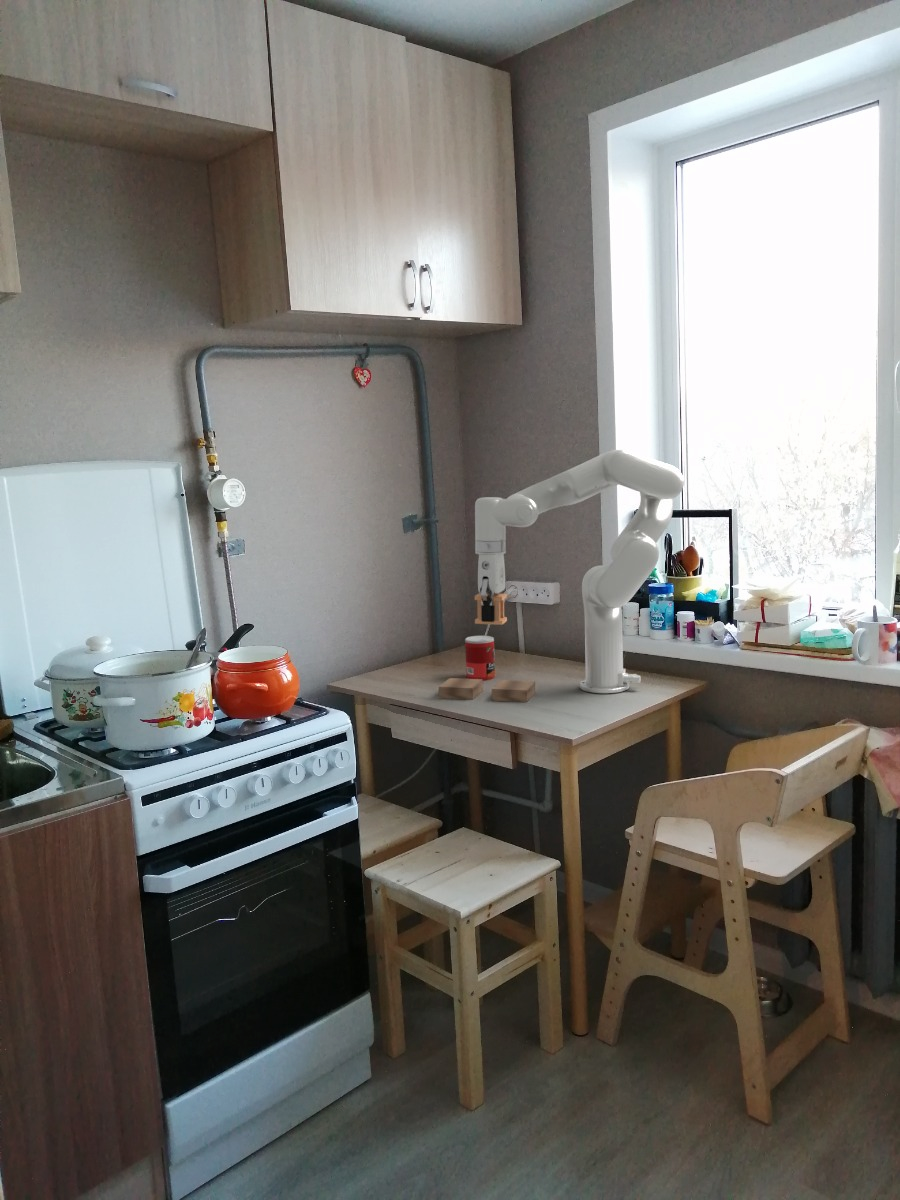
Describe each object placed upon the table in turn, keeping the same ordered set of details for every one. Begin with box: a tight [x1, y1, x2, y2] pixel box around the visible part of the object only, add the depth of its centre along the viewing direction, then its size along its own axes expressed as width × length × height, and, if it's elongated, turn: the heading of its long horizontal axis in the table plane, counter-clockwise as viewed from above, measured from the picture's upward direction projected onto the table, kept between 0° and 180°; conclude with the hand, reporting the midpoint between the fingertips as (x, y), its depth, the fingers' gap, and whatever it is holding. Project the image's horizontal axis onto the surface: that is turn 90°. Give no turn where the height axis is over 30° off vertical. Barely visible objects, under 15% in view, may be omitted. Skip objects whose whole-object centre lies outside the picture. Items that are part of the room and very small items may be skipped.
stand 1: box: [438, 677, 484, 701], centre depth 244 cm, size 9×9×3 cm
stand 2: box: [491, 679, 536, 703], centre depth 240 cm, size 9×9×3 cm
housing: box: [474, 592, 508, 626], centre depth 238 cm, size 7×5×7 cm
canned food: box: [464, 635, 496, 681], centre depth 260 cm, size 8×8×11 cm
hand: (490, 618), depth 238 cm, fingers closed on housing, 5 cm apart
